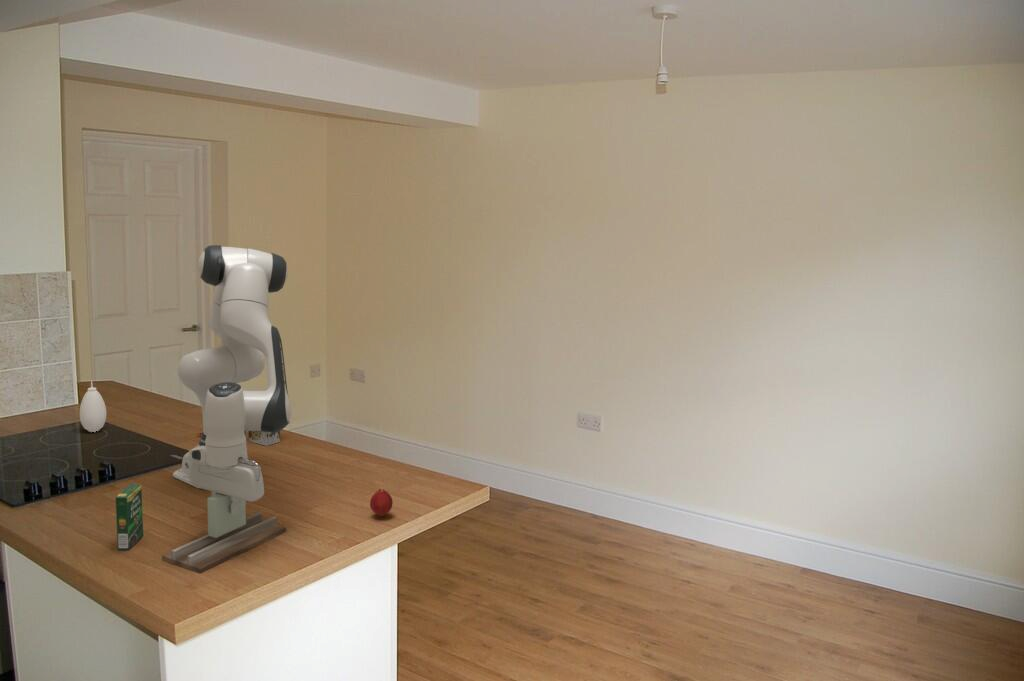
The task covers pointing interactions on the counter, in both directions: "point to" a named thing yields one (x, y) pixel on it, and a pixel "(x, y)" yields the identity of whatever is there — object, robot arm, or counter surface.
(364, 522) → the counter surface
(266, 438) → the coffee box
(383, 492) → the onion
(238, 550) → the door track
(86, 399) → the sauce bottle
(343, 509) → the counter surface
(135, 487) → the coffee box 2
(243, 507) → the door panel
